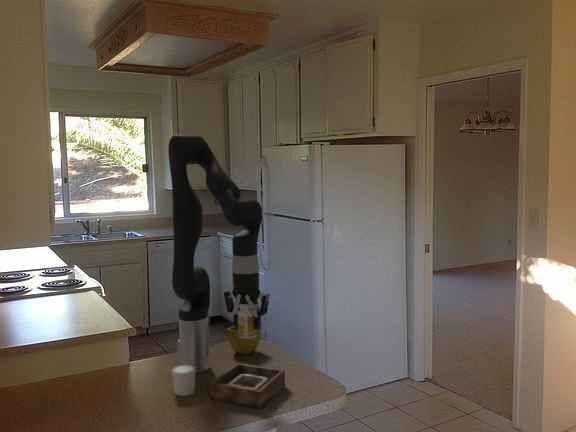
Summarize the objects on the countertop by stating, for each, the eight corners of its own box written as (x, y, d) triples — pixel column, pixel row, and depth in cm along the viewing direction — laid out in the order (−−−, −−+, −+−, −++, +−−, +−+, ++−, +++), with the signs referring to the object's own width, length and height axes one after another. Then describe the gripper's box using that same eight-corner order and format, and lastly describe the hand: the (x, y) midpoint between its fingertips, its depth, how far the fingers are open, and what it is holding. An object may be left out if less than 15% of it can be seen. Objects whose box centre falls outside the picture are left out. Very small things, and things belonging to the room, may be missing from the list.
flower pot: (247, 358, 186) (246, 332, 185) (227, 353, 191) (226, 328, 190) (262, 350, 193) (261, 325, 192) (242, 346, 198) (242, 322, 197)
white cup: (201, 388, 163) (200, 366, 162) (187, 398, 156) (186, 374, 156) (182, 385, 165) (181, 362, 165) (168, 394, 159) (167, 371, 158)
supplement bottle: (258, 333, 160) (257, 300, 159) (255, 339, 154) (254, 305, 153) (239, 333, 160) (238, 300, 159) (236, 339, 155) (235, 305, 154)
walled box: (210, 399, 155) (209, 383, 154) (238, 378, 169) (237, 362, 169) (260, 409, 148) (260, 392, 148) (285, 386, 163) (284, 370, 162)
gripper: (216, 271, 155) (218, 329, 157) (262, 274, 149) (264, 334, 151) (230, 265, 162) (231, 321, 163) (274, 268, 156) (275, 326, 158)
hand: (247, 327), depth 157 cm, fingers closed on supplement bottle, 5 cm apart
